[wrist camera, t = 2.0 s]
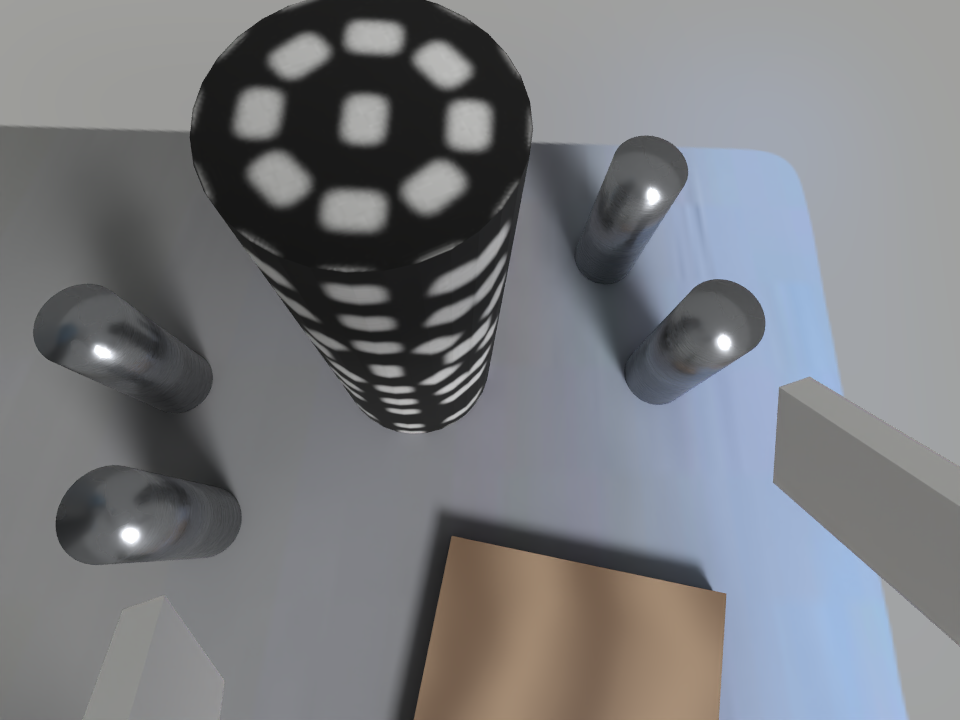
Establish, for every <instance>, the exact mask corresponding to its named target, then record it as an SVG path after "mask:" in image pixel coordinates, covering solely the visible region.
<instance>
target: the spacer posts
mask: <svg viewBox="0 0 960 720" xmlns="http://www.w3.org/2000/svg"><path fill="white" fill-rule="evenodd" d="M687 177H688V167H687V163H686V160H685V158H684V156H683V155H682V153H681V152H680V151H679V150H678V149H677V148H676V147H675V146H674V145H673V144H671V143H669V142H668V141H666V140H664V139H661V138H658V137H654V136H638V137H634V138H631V139H629V140H627V141H625V142H624V143H623V144H621V145H620V146H619V148H618V149H617V150H616V152H615V154H614V157H613V159H612V162H611V164H610V167H609V169H608V172H607V174H606V176H605V179H604V181H603V184H602V186H601V189H600V191H599V194H598V196H597V199H596V201H595V203H594V206H593V208H592V211H591V213H590V216H589V218H588V221H587V223H586V225H585V228H584V230H583V233H582V235H581V238H580V240H579V243H578V245H577V247H576V251H575V261H576V264H577V266H578V268H579V270H580V271H581V273H582V274H583V275H584V276H586V277H587V278H588V279H590V280H592V281H594V282H597V283H602V284H610V283H615V282H618V281H620V280H621V279H623V278H624V277H625V276H626V275H627V274H628V273H629V271H630V269H631V268H632V266H633V265H634V263H635V262H636V260H637V259H638V257H639V255H640V254H641V252H642V251H643V249H644V248H645V246H646V244H647V243H648V241H649V240H650V238H651V237H652V235H653V234H654V232H655V230H656V229H657V227H658V226H659V224H660V223H661V221H662V220H663V218H664V216H665V215H666V213H667V212H668V210H669V209H670V207H671V205H672V204H673V202H674V201H675V199H676V198H677V196H678V195H679V193H680V191H681V190H682V188H683V187H684V185H685V183H686V181H687ZM764 331H765V316H764V312H763V309H762V307H761V305H760V303H759V302H758V300H757V299H756V298H755V296H754V295H753V294H752V293H751V292H750V291H748V290H747V289H746V288H744V287H743V286H741V285H739V284H737V283H735V282H732V281H728V280H722V279H715V280H709V281H705V282H703V283H701V284H699V285H697V286H696V287H695V288H693V289H692V291H691V292H690V293H689V294H688V295H687V296H686V297H685V298H684V299H683V300H682V301H681V302H680V303H679V304H678V305H677V306H676V308H675V309H674V310H673V311H672V312H671V313H670V314H669V315H668V316H667V317H666V318H665V319H664V320H663V321H662V323H661V324H660V325H659V326H658V327H657V328H656V329H655V330H654V331H653V332H652V333H651V334H650V335H649V336H648V337H647V339H646V340H645V341H644V342H643V343H642V344H641V345H640V346H639V347H638V348H637V349H636V350H635V351H634V352H633V353H632V355H631V356H630V357H629V359H628V361H627V363H626V367H625V377H626V381H627V384H628V386H629V388H630V389H631V391H632V392H633V393H634V394H635V395H636V396H637V397H638V398H639V399H641V400H643V401H645V402H647V403H650V404H655V405H662V404H667V403H670V402H672V401H674V400H675V399H677V398H678V397H680V396H682V395H683V394H685V393H686V392H688V391H689V390H691V389H692V388H694V387H695V386H697V385H698V384H700V383H702V382H703V381H705V380H706V379H708V378H709V377H711V376H712V375H714V374H715V373H717V372H719V371H720V370H722V369H723V368H725V367H726V366H728V365H729V364H731V363H732V362H734V361H735V360H737V359H739V358H740V357H742V356H743V355H745V354H746V353H748V352H749V351H751V350H752V349H754V348H755V347H756V346H757V345H758V344H759V342H760V341H761V339H762V337H763V334H764ZM33 336H34V341H35V344H36V346H37V348H38V350H39V351H40V353H41V354H42V355H43V356H44V357H46V358H47V359H48V360H50V361H52V362H54V363H57V364H59V365H61V366H63V367H66V368H68V369H70V370H72V371H75V372H77V373H79V374H81V375H84V376H86V377H88V378H90V379H92V380H95V381H97V382H99V383H101V384H104V385H106V386H108V387H110V388H113V389H115V390H117V391H119V392H122V393H124V394H126V395H128V396H131V397H133V398H135V399H137V400H140V401H142V402H144V403H146V404H149V405H151V406H153V407H155V408H157V409H160V410H162V411H164V412H168V413H182V412H186V411H189V410H191V409H193V408H195V407H196V406H198V405H199V404H200V403H201V402H202V401H203V400H204V399H205V398H206V396H207V395H208V393H209V391H210V389H211V386H212V380H213V376H212V371H211V368H210V365H209V364H208V362H207V361H206V360H205V359H204V358H203V357H201V356H200V355H199V354H197V353H196V352H194V351H193V350H192V349H190V348H189V347H188V346H186V345H185V344H183V343H182V342H181V341H179V340H178V339H177V338H175V337H174V336H172V335H171V334H170V333H168V332H167V331H166V330H164V329H163V328H161V327H160V326H159V325H157V324H156V323H155V322H153V321H152V320H150V319H149V318H148V317H146V316H145V315H144V314H142V313H141V312H139V311H138V310H137V309H135V308H134V307H133V306H131V305H130V304H128V303H127V302H126V301H124V300H123V299H122V298H120V297H119V296H117V295H116V294H115V293H113V292H112V291H110V290H109V289H107V288H105V287H102V286H99V285H94V284H81V285H76V286H72V287H69V288H66V289H64V290H62V291H60V292H58V293H57V294H55V295H54V296H53V297H51V298H50V299H49V300H48V301H47V302H46V303H45V304H44V306H43V307H42V308H41V310H40V311H39V313H38V315H37V317H36V320H35V323H34V329H33ZM240 526H241V509H240V506H239V504H238V502H237V500H236V499H235V497H234V496H233V495H232V494H231V493H229V492H228V491H226V490H224V489H222V488H218V487H214V486H209V485H205V484H200V483H196V482H192V481H187V480H183V479H178V478H174V477H170V476H165V475H161V474H157V473H152V472H148V471H143V470H139V469H135V468H130V467H126V466H119V465H112V466H105V467H101V468H98V469H95V470H93V471H91V472H89V473H87V474H85V475H84V476H82V477H81V478H80V479H78V480H77V481H76V482H75V483H74V484H73V485H72V486H71V487H70V488H69V490H68V491H67V492H66V494H65V495H64V497H63V499H62V501H61V503H60V505H59V508H58V511H57V516H56V532H57V537H58V540H59V542H60V544H61V546H62V548H63V549H64V550H65V552H66V553H67V554H68V555H70V556H71V557H72V558H74V559H75V560H77V561H79V562H82V563H86V564H91V565H104V564H119V563H135V562H150V561H166V560H181V559H197V558H208V557H212V556H215V555H217V554H219V553H221V552H222V551H224V550H225V549H226V548H228V547H229V546H230V545H231V543H232V542H233V541H234V540H235V538H236V536H237V534H238V532H239V530H240Z"/></svg>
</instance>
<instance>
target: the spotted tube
mask: <svg viewBox="0 0 960 720" xmlns="http://www.w3.org/2000/svg"><path fill="white" fill-rule="evenodd" d="M532 132H533V125H532V116H531V107H530V101H529V98H528V95H527V92H526V89H525V86H524V83H523V81H522V78H521V76H520V74H519V72H518V71H517V69H516V68H515V66H514V64H513V63H512V61H511V60H510V58H509V56H508V55H507V53H506V52H505V51H504V50H503V49H502V48H501V47H500V46H499V45H498V44H497V43H496V42H495V41H494V40H493V39H492V38H491V36H489V34H488V33H486V32H485V31H483V30H482V29H481V28H479V27H478V26H477V25H475V24H474V23H472V22H471V21H470V20H468V19H467V18H465V17H464V16H462V15H460V14H457V13H456V12H454V11H451V10H450V9H447V8H445V7H443V6H441V5H439V4H436V3H433V2H430V1H426V0H306V1H302V2H299V3H296V4H293V5H290V6H287V7H285V8H284V9H281V10H279V11H277V12H276V13H273V14H272V15H269V16H268V17H265V18H264V19H262V20H260V21H259V22H257V23H256V24H255V25H254V26H252V27H251V28H249V29H248V30H247V31H245V32H244V33H242V34H241V35H240V36H238V37H237V38H236V39H235V40H234V41H233V42H232V44H231V45H230V46H229V47H228V48H227V49H226V50H225V51H224V52H223V53H222V54H221V55H220V56H219V57H218V59H217V60H216V61H215V63H214V65H213V66H212V68H211V70H210V71H209V73H208V74H207V76H206V78H205V79H204V81H203V82H202V85H201V88H200V91H199V93H198V96H197V99H196V102H195V105H194V107H193V112H192V122H191V131H190V142H191V150H192V157H193V164H194V168H195V170H196V172H197V175H198V177H199V180H200V182H201V185H202V187H203V190H204V192H205V194H206V195H207V197H208V198H209V200H210V201H211V202H212V204H213V205H214V207H215V208H216V209H217V211H218V212H219V214H220V215H221V216H222V218H223V219H224V220H225V222H226V223H227V225H228V226H229V227H230V229H231V230H232V232H233V233H234V234H235V236H236V237H237V239H238V240H239V241H240V243H241V244H242V245H243V247H244V248H245V250H246V251H247V252H248V254H249V255H250V257H251V258H252V259H253V261H254V262H255V263H256V265H257V266H258V268H259V269H260V270H261V272H262V273H263V275H264V276H265V277H266V279H267V280H268V282H269V283H270V284H271V286H272V287H273V288H274V290H275V291H276V293H277V294H278V295H279V297H280V298H281V300H282V301H283V302H284V304H285V305H286V306H287V308H288V309H289V311H290V312H291V313H292V315H293V316H294V318H295V319H296V320H297V322H298V323H299V324H300V326H301V327H302V329H303V330H304V331H305V333H306V334H307V336H308V337H309V338H310V340H311V341H312V343H313V344H314V345H315V347H316V348H317V349H318V351H319V352H320V354H321V355H322V356H323V358H324V359H325V361H326V362H327V363H328V365H329V366H330V367H331V369H332V370H333V372H334V373H335V374H336V376H337V377H338V379H339V380H340V381H341V383H342V384H343V385H344V387H345V388H346V390H347V391H348V392H349V394H350V395H351V397H352V398H353V399H354V401H355V402H356V404H357V405H358V406H359V408H360V409H361V410H362V411H363V412H364V413H365V414H366V415H367V416H368V417H369V418H371V419H372V420H373V421H375V422H377V423H378V424H380V425H382V426H383V427H386V428H389V429H392V430H395V431H398V432H405V433H412V434H413V433H428V432H432V431H435V430H439V429H442V428H444V427H446V426H449V425H451V424H453V423H455V422H456V421H457V420H459V419H460V418H461V417H463V416H464V415H466V413H467V412H468V411H469V410H470V409H471V408H472V407H473V406H474V405H475V404H476V402H477V400H478V399H479V397H480V395H481V394H482V392H483V389H484V386H485V383H486V381H487V377H488V371H489V366H490V361H491V356H492V350H493V345H494V340H495V334H496V329H497V324H498V319H499V313H500V308H501V303H502V298H503V292H504V287H505V282H506V277H507V271H508V266H509V261H510V256H511V250H512V245H513V240H514V235H515V229H516V224H517V219H518V213H519V208H520V203H521V198H522V192H523V187H524V182H525V177H526V171H527V166H528V161H529V155H530V148H531V140H532Z"/></svg>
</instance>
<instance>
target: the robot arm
mask: <svg viewBox="0 0 960 720" xmlns="http://www.w3.org/2000/svg"><path fill="white" fill-rule="evenodd" d="M773 483H774V484H775V485H776V486H778V487H779V488H780V489H781V490H782V491H783V492H784V493H786V494H787V495H788V496H789V497H790V498H791V499H792V500H794V501H795V502H796V503H797V504H798V505H799V506H800V507H802V508H803V509H804V510H805V511H806V512H807V513H808V514H809V515H811V516H812V517H813V518H814V519H815V520H816V521H817V522H819V523H820V524H821V525H822V526H823V527H824V528H825V529H827V530H828V531H829V532H830V533H831V534H832V535H833V536H835V537H836V538H837V539H838V540H839V541H840V542H841V543H843V544H844V545H845V546H846V547H847V548H848V549H849V550H851V551H852V552H853V553H854V554H855V555H856V556H857V557H858V558H860V559H861V560H862V561H863V562H864V563H865V564H866V565H868V566H869V567H870V568H871V569H872V570H873V571H874V572H876V573H877V574H878V575H879V576H880V577H881V578H882V579H884V580H885V581H886V582H887V583H888V584H889V585H890V586H892V587H893V588H894V589H895V590H896V591H897V592H898V593H900V594H901V595H902V596H903V597H904V598H905V599H906V600H907V601H909V602H910V603H911V604H912V605H913V606H914V607H915V608H917V609H918V610H919V611H920V612H921V613H922V614H923V615H925V616H926V617H927V618H928V619H929V620H930V621H931V622H933V623H934V624H935V625H936V626H937V627H938V628H939V629H941V630H942V631H943V632H944V633H945V634H946V635H948V636H949V637H950V638H951V639H952V640H953V641H954V642H955V643H956V644H958V645H959V646H960V467H959V466H958V465H956V464H955V463H953V462H951V461H950V460H948V459H946V458H944V457H943V456H941V455H940V454H938V453H936V452H935V451H933V450H931V449H930V448H928V447H926V446H924V445H923V444H921V443H920V442H918V441H916V440H914V439H913V438H911V437H909V436H908V435H906V434H904V433H903V432H901V431H899V430H898V429H896V428H894V427H893V426H891V425H889V424H888V423H886V422H884V421H883V420H881V419H879V418H878V417H876V416H874V415H873V414H871V413H869V412H868V411H866V410H864V409H863V408H861V407H859V406H858V405H856V404H854V403H853V402H851V401H849V400H848V399H846V398H844V397H843V396H841V395H839V394H838V393H836V392H834V391H833V390H831V389H829V388H828V387H826V386H824V385H823V384H821V383H819V382H818V381H816V380H814V379H813V378H811V377H808V378H805V379H802V380H799V381H796V382H793V383H790V384H787V385H784V386H781V387H779V398H778V413H777V429H776V445H775V461H774V476H773ZM224 685H225V681H224V679H223V678H222V676H221V675H220V673H219V672H218V671H217V669H216V668H215V666H214V665H213V663H212V662H211V660H210V659H209V658H208V656H207V655H206V653H205V652H204V650H203V649H202V648H201V646H200V645H199V643H198V642H197V640H196V639H195V638H194V636H193V635H192V633H191V632H190V630H189V629H188V627H187V626H186V625H185V623H184V622H183V620H182V619H181V617H180V616H179V615H178V613H177V612H176V610H175V609H174V607H173V606H172V604H171V603H170V602H169V600H168V599H167V597H166V596H165V595H163V596H160V597H157V598H154V599H151V600H148V601H145V602H143V603H140V604H137V605H134V606H131V607H128V608H125V609H123V610H122V613H121V616H120V618H119V621H118V624H117V627H116V629H115V632H114V635H113V638H112V640H111V643H110V646H109V649H108V651H107V654H106V657H105V660H104V662H103V665H102V668H101V671H100V673H99V676H98V679H97V682H96V684H95V687H94V690H93V693H92V695H91V698H90V701H89V704H88V706H87V709H86V712H85V715H84V717H83V720H219V718H220V712H221V705H222V698H223V692H224Z"/></svg>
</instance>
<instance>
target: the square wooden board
mask: <svg viewBox="0 0 960 720" xmlns="http://www.w3.org/2000/svg"><path fill="white" fill-rule="evenodd" d="M725 608H726V594H725V593H720V592H716V591H711V590H706V589H701V588H697V587H692V586H687V585H682V584H678V583H673V582H668V581H663V580H659V579H654V578H649V577H644V576H640V575H635V574H630V573H625V572H621V571H616V570H611V569H607V568H602V567H597V566H592V565H588V564H583V563H578V562H573V561H569V560H564V559H559V558H554V557H550V556H545V555H540V554H535V553H531V552H526V551H521V550H516V549H512V548H507V547H502V546H497V545H493V544H488V543H483V542H478V541H474V540H469V539H464V538H459V537H455V536H452V537H451V542H450V546H449V551H448V556H447V561H446V566H445V571H444V575H443V580H442V585H441V590H440V595H439V600H438V605H437V609H436V614H435V619H434V624H433V629H432V634H431V638H430V643H429V648H428V653H427V658H426V663H425V668H424V672H423V677H422V682H421V687H420V692H419V697H418V701H417V706H416V711H415V716H414V720H719V706H720V689H721V673H722V657H723V640H724V624H725Z"/></svg>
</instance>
